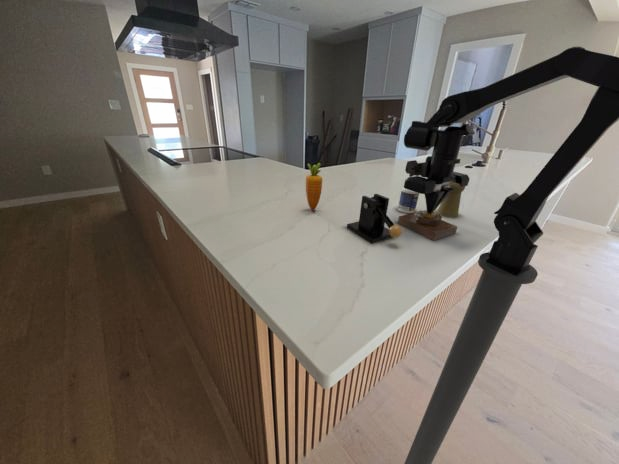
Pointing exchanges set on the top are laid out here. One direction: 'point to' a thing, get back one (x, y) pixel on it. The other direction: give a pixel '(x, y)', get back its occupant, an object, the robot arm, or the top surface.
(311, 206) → the carrot
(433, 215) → the button
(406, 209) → the pill bottle
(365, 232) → the bracket
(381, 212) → the ball knob lever
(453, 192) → the cork
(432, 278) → the top surface
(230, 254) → the top surface
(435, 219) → the switch block
